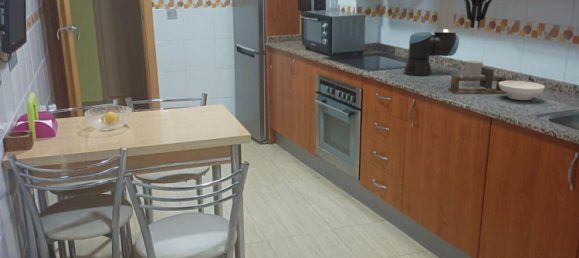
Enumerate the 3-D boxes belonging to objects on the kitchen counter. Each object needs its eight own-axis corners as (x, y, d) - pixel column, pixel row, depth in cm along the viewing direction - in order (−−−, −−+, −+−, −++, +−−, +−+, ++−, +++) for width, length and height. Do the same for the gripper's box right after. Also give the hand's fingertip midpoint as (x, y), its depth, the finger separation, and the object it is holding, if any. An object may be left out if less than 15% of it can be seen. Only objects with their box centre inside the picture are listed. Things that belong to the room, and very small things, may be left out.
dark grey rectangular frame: (486, 88, 257) (488, 69, 254) (479, 85, 264) (481, 67, 262) (491, 88, 257) (493, 69, 254) (484, 85, 265) (486, 67, 262)
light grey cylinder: (481, 86, 274) (483, 63, 271) (464, 86, 276) (466, 62, 272) (478, 84, 282) (481, 61, 278) (462, 83, 283) (465, 60, 280)
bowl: (519, 105, 234) (521, 90, 233) (487, 96, 252) (489, 82, 250) (552, 102, 242) (554, 87, 240) (518, 93, 259) (520, 79, 257)
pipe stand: (454, 93, 256) (456, 75, 254) (448, 90, 264) (449, 72, 261) (506, 93, 258) (509, 75, 256) (499, 90, 266) (501, 73, 264)
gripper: (469, -17, 246) (463, 35, 253) (496, -17, 247) (490, 35, 254) (462, -17, 253) (457, 33, 260) (489, -17, 254) (483, 33, 261)
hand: (473, 34), depth 257 cm, fingers closed
